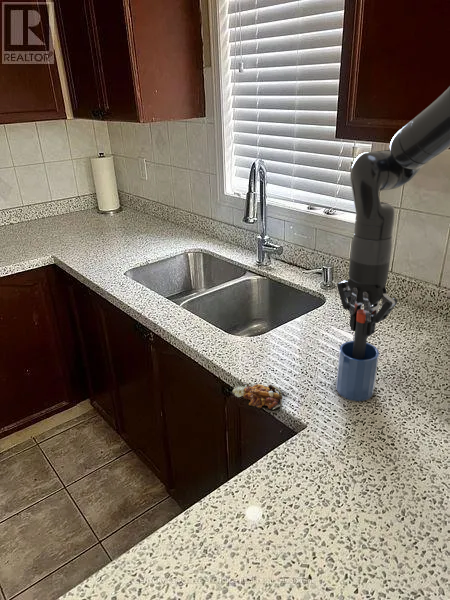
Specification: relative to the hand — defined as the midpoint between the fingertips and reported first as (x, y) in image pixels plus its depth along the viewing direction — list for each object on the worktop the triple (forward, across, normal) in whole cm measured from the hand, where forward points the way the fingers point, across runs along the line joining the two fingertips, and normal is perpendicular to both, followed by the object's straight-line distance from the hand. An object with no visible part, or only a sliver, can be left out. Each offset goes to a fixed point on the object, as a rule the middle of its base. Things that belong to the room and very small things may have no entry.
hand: (361, 332), depth 95 cm
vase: (+16, 0, 0) cm, 16 cm away
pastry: (+16, +12, +19) cm, 27 cm away
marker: (+6, 0, 0) cm, 6 cm away
